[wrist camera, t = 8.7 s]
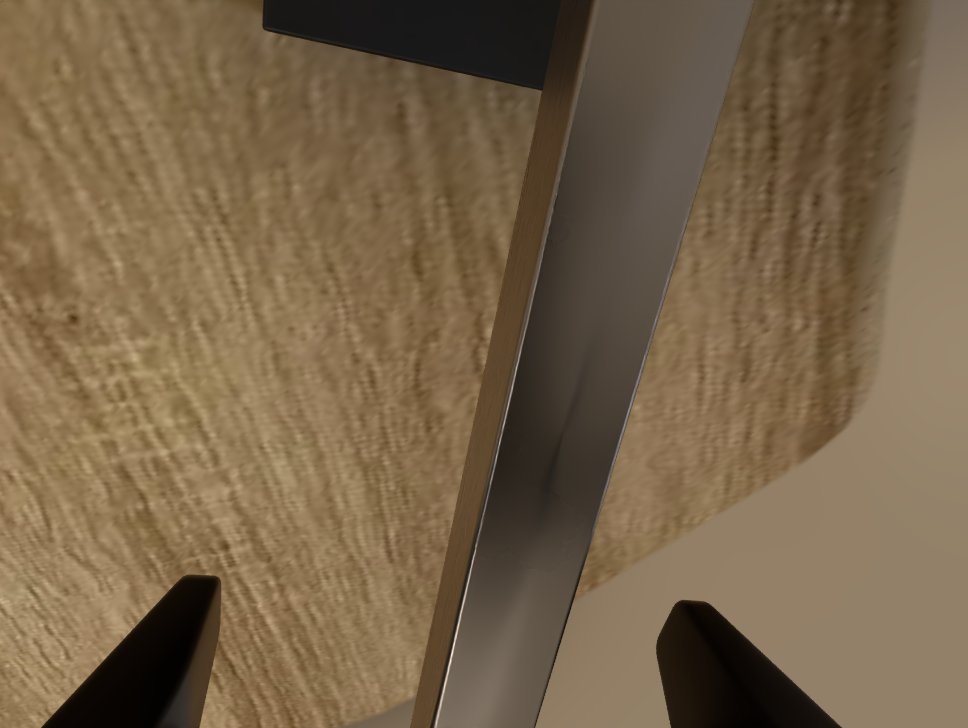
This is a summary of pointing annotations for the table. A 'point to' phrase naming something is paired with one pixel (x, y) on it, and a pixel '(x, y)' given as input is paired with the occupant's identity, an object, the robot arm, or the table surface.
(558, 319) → the lever
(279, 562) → the table surface
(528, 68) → the bracket
